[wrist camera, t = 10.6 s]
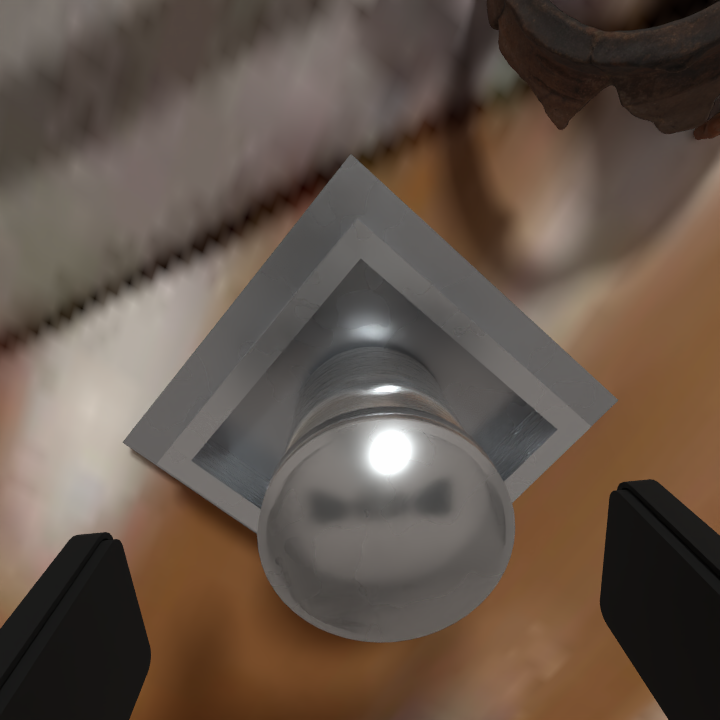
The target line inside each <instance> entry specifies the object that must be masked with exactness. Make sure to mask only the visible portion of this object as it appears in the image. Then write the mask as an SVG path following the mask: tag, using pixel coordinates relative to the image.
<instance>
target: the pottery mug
mask: <svg viewBox="0 0 720 720" xmlns="http://www.w3.org/2000/svg"><path fill="white" fill-rule="evenodd" d="M487 12H488V19H489V23H490V26H491V28H493V29H495V30H499V40H498V44H499V49H500V52H501V53H502V55H503V56H504V58H505V59H506V61H507V62H508V64H509V65H510V66H511V67H512V68H513V69H514V70H515V71H516V72H517V73H518V74H519V76H520V77H521V78H522V79H523V80H524V81H526V82H527V84H528V85H529V87H530V88H531V89H532V91H533V92H534V94H535V95H536V96H537V98H538V100H539V101H540V102H541V103H542V105H543V106H544V109H545V112H546V114H547V115H548V117H549V118H550V119H551V121H552V122H553V123H554V124H555V125H556V126H557V128H558V129H560V130H563V129H564V128H565V127H566V126H567V125H568V122H569V120H570V119H571V118H572V117H573V116H574V115H575V114H576V113H577V112H578V111H580V110H581V109H582V108H583V107H584V106H585V105H586V104H587V103H588V102H589V101H590V100H591V99H592V98H593V97H595V96H596V95H597V94H598V93H599V92H600V91H602V90H603V89H604V88H606V87H608V86H609V85H612V86H614V87H616V89H617V92H618V95H619V98H620V102H621V104H622V106H623V107H625V108H626V109H627V110H628V111H629V112H630V113H631V114H632V115H634V116H636V117H638V118H640V119H644V120H648V121H651V122H653V123H654V124H655V126H656V127H657V128H658V130H659V131H661V132H662V133H665V134H672V133H676V132H681V131H685V130H690V129H693V128H696V127H697V128H696V129H695V130H694V137H695V139H697V140H701V139H707V138H709V139H710V138H713V137H716V136H718V135H720V112H719V113H718V114H716V115H715V116H713V117H712V118H711V119H709V120H708V118H709V114H710V112H711V109H712V107H713V105H714V101H715V99H716V98H717V97H718V96H719V95H720V1H718V2H717V3H715V4H713V5H711V6H709V7H708V8H706V9H704V10H702V11H700V12H697V13H695V14H693V15H690V16H688V17H685V18H683V19H680V20H676V21H673V22H670V23H667V24H664V25H660V26H657V27H652V28H647V29H639V30H632V31H614V32H604V31H602V30H600V29H596V28H594V27H589V26H587V25H584V24H581V23H580V22H578V21H577V20H576V19H574V18H572V17H570V16H568V15H566V14H564V13H563V12H562V11H560V10H559V9H558V8H557V7H556V6H555V5H554V4H552V3H551V2H550V0H487ZM707 120H708V121H707Z"/></svg>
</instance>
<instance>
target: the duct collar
mask: <svg viewBox="0 0 720 720" xmlns="http://www.w3.org/2000/svg"><path fill="white" fill-rule="evenodd" d="M362 347H382V348H388V349H393V350H396V351H399V352H402V353H404V354H406V355H408V356H410V357H412V358H414V359H415V360H417V361H418V362H419V363H421V364H422V365H423V366H424V367H425V368H426V369H427V370H428V371H429V372H430V373H431V374H432V375H433V377H434V378H435V379H436V381H437V383H438V385H439V386H440V388H441V390H442V392H443V393H444V395H445V397H446V399H447V400H448V402H449V404H450V406H451V408H452V409H453V411H454V413H455V415H456V416H457V418H458V420H459V422H460V423H461V425H462V427H463V429H464V431H465V432H466V433H468V434H469V435H470V436H471V437H472V438H473V439H474V440H475V441H476V442H477V443H478V444H479V445H480V446H481V447H482V449H483V450H484V451H485V452H486V454H487V455H488V456H489V458H490V460H491V461H492V463H493V465H494V466H495V468H496V470H497V471H498V473H499V475H500V476H501V478H502V480H503V482H504V483H505V485H506V488H507V490H508V493H509V495H510V498H511V501H512V503H513V502H514V501H515V500H516V499H517V498H518V497H519V496H520V495H521V494H522V493H523V492H524V491H525V490H526V489H527V488H528V487H529V486H530V485H531V484H532V483H533V482H534V481H535V480H536V479H537V478H538V477H540V476H541V475H542V474H543V473H544V472H545V471H546V470H547V469H548V468H549V467H550V466H551V465H552V464H553V463H554V462H555V461H556V460H557V459H558V458H559V457H560V456H561V455H562V454H563V453H564V452H566V451H567V450H568V449H569V448H570V447H571V446H572V445H573V444H574V443H575V442H576V441H577V440H578V439H579V438H580V437H581V436H582V435H583V434H584V433H585V432H586V431H587V430H588V429H589V428H590V427H591V426H592V425H593V424H594V423H595V422H596V421H597V420H598V419H599V418H600V417H601V416H602V415H603V414H605V413H606V412H607V411H608V410H609V409H610V408H611V407H612V406H613V405H614V404H615V403H616V402H617V401H618V399H616V398H615V397H614V396H613V395H612V394H611V393H610V392H609V391H608V390H607V389H606V388H604V387H603V386H602V385H601V384H600V383H599V382H598V381H597V380H596V379H595V378H594V377H593V376H591V375H590V374H589V373H588V372H587V371H586V370H585V369H584V368H583V367H582V366H581V365H579V364H578V363H577V362H576V361H575V360H574V359H573V358H572V357H571V356H570V355H569V354H568V353H566V352H565V351H564V350H563V349H562V348H561V347H560V346H559V345H558V344H557V343H556V342H554V341H553V340H552V339H551V338H550V337H549V336H548V335H547V334H546V333H545V332H544V331H543V330H541V329H540V328H539V327H538V326H537V325H536V324H535V323H534V322H533V321H532V320H531V319H529V318H528V317H527V316H526V315H525V314H524V313H523V312H522V311H521V310H520V309H519V308H518V307H516V306H515V305H514V304H513V303H512V302H511V301H510V300H509V299H508V298H507V297H506V296H505V295H503V294H502V293H501V292H500V291H499V290H498V289H497V288H496V287H495V286H494V285H493V284H491V283H490V282H489V281H488V280H487V279H486V278H485V277H484V276H483V275H482V274H481V273H480V272H478V271H477V270H476V269H475V268H474V267H473V266H472V265H471V264H470V263H469V262H468V261H466V260H465V259H464V258H463V257H462V256H461V255H460V254H459V253H458V252H457V251H456V250H455V249H453V248H452V247H451V246H450V245H449V244H448V243H447V242H446V241H445V240H444V239H443V238H441V237H440V236H439V235H438V234H437V233H436V232H435V231H434V230H433V229H432V228H431V227H430V226H428V225H427V224H426V223H425V222H424V221H423V220H422V219H421V218H420V217H419V216H418V215H416V214H415V213H414V212H413V211H412V210H411V209H410V208H409V207H408V206H407V205H406V204H405V203H403V202H402V201H401V200H400V199H399V198H398V197H397V196H396V195H395V194H394V193H393V192H392V191H390V190H389V189H388V188H387V187H386V186H385V185H384V184H383V183H382V182H381V181H380V180H378V179H377V178H376V177H375V176H374V175H373V174H372V173H371V172H370V171H369V170H368V169H367V168H365V167H364V166H363V165H362V164H361V163H360V162H359V161H358V160H357V159H356V158H355V157H353V156H352V155H350V156H349V157H348V158H347V160H346V161H345V162H344V164H343V165H342V166H341V167H340V169H339V170H338V171H337V172H336V174H335V175H334V176H333V177H332V179H331V180H330V181H329V182H328V184H327V185H326V186H325V188H324V189H323V190H322V191H321V193H320V194H319V195H318V196H317V198H316V199H315V200H314V201H313V203H312V204H311V205H310V206H309V208H308V209H307V210H306V211H305V213H304V214H303V215H302V217H301V218H300V219H299V220H298V222H297V223H296V224H295V225H294V227H293V228H292V229H291V230H290V232H289V233H288V234H287V235H286V237H285V238H284V239H283V241H282V242H281V243H280V244H279V246H278V247H277V248H276V249H275V251H274V252H273V253H272V254H271V256H270V257H269V258H268V259H267V261H266V262H265V263H264V265H263V266H262V267H261V268H260V270H259V271H258V272H257V273H256V275H255V276H254V277H253V278H252V280H251V281H250V282H249V283H248V285H247V286H246V287H245V288H244V290H243V291H242V292H241V294H240V295H239V296H238V297H237V299H236V300H235V301H234V302H233V304H232V305H231V306H230V307H229V309H228V310H227V311H226V312H225V314H224V315H223V316H222V318H221V319H220V320H219V321H218V323H217V324H216V325H215V326H214V328H213V329H212V330H211V331H210V333H209V334H208V335H207V336H206V338H205V339H204V340H203V342H202V343H201V344H200V345H199V347H198V348H197V349H196V350H195V352H194V353H193V354H192V355H191V357H190V358H189V359H188V360H187V362H186V363H185V364H184V365H183V367H182V368H181V369H180V371H179V372H178V373H177V374H176V376H175V377H174V378H173V379H172V381H171V382H170V383H169V384H168V386H167V387H166V388H165V389H164V391H163V392H162V393H161V395H160V396H159V397H158V398H157V400H156V401H155V402H154V403H153V405H152V406H151V407H150V408H149V410H148V411H147V412H146V413H145V415H144V416H143V417H142V419H141V420H140V421H139V422H138V424H137V425H136V426H135V427H134V429H133V430H132V431H131V432H130V434H129V435H128V436H127V437H126V439H125V440H124V441H123V443H124V444H126V445H127V446H129V447H130V448H131V449H133V450H134V451H136V452H137V453H139V454H140V455H142V456H143V457H145V458H146V459H148V460H149V461H151V462H152V463H154V464H155V465H156V466H158V467H159V468H161V469H162V470H164V471H165V472H167V473H168V474H170V475H171V476H173V477H174V478H176V479H177V480H178V481H180V482H181V483H183V484H184V485H186V486H187V487H189V488H190V489H192V490H193V491H195V492H196V493H198V494H199V495H200V496H202V497H203V498H205V499H206V500H208V501H209V502H211V503H212V504H214V505H215V506H217V507H218V508H220V509H221V510H222V511H224V512H225V513H227V514H228V515H230V516H231V517H233V518H234V519H236V520H237V521H239V522H240V523H242V524H243V525H244V526H246V527H247V528H249V529H250V530H252V531H253V532H255V533H256V534H257V531H258V520H259V515H260V511H261V507H262V503H263V499H264V496H265V492H266V489H267V486H268V483H269V481H270V478H271V476H272V473H273V472H274V470H275V468H276V466H277V465H278V463H279V461H280V460H281V459H282V457H283V456H284V452H285V448H286V444H287V440H288V436H289V432H290V428H291V424H292V420H293V416H294V412H295V408H296V404H297V400H298V397H299V395H300V392H301V390H302V388H303V386H304V384H305V382H306V381H307V380H308V378H309V377H310V376H311V374H312V373H313V372H314V371H315V370H316V369H317V368H318V367H319V366H320V365H322V364H323V363H324V362H326V361H327V360H329V359H330V358H332V357H334V356H335V355H338V354H340V353H342V352H345V351H348V350H352V349H355V348H362Z"/></svg>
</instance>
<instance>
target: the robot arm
mask: <svg viewBox="0 0 720 720" xmlns="http://www.w3.org/2000/svg"><path fill="white" fill-rule="evenodd" d="M600 607H601V612H602V615H603V618H604V620H605V622H606V624H607V625H608V627H609V628H610V630H611V632H612V633H613V635H614V636H615V638H616V639H617V641H618V642H619V644H620V645H621V647H622V648H623V650H624V652H625V653H626V655H627V656H628V658H629V659H630V661H631V662H632V664H633V665H634V667H635V669H636V670H637V672H638V673H639V675H640V676H641V678H642V679H643V681H644V682H645V684H646V686H647V687H648V689H649V690H650V692H651V693H652V695H653V696H654V698H655V699H656V701H657V703H658V704H659V706H660V707H661V709H662V710H663V712H664V713H665V715H666V716H667V718H668V720H720V535H718V534H717V533H716V532H715V531H714V530H713V529H712V528H710V527H709V526H708V525H707V524H706V523H705V522H703V521H702V520H701V519H700V518H699V517H698V516H696V515H695V514H694V513H693V512H692V511H691V510H690V509H688V508H687V507H686V506H685V505H684V504H683V503H681V502H680V501H679V500H678V499H677V498H676V497H674V496H673V495H672V494H671V493H670V492H669V491H668V490H666V489H665V488H664V487H663V486H662V485H661V484H659V483H658V482H657V481H655V480H651V479H649V480H639V481H629V482H622V483H620V484H619V486H618V488H617V491H613V492H612V493H611V494H610V498H609V509H608V519H607V530H606V541H605V552H604V562H603V573H602V584H601V595H600ZM150 660H151V650H150V645H149V641H148V637H147V634H146V630H145V626H144V623H143V619H142V615H141V612H140V608H139V604H138V600H137V597H136V593H135V589H134V586H133V582H132V578H131V575H130V571H129V567H128V564H127V560H126V556H125V553H124V549H123V545H122V543H121V541H120V540H118V539H114V540H113V537H112V536H111V535H110V533H107V532H103V533H93V534H83V535H76V536H73V537H72V538H71V539H70V540H69V541H68V543H67V544H66V545H65V546H64V548H63V549H62V550H61V552H60V553H59V554H58V555H57V557H56V558H55V559H54V561H53V562H52V563H51V564H50V566H49V567H48V568H47V570H46V571H45V572H44V573H43V575H42V576H41V577H40V579H39V580H38V581H37V582H36V584H35V585H34V586H33V588H32V589H31V590H30V591H29V593H28V594H27V595H26V597H25V598H24V599H23V600H22V602H21V603H20V604H19V606H18V607H17V608H16V609H15V611H14V612H13V613H12V615H11V616H10V617H9V618H8V620H7V621H6V622H5V624H4V625H3V626H2V627H1V629H0V720H129V719H130V716H131V713H132V711H133V708H134V706H135V703H136V701H137V698H138V696H139V693H140V691H141V688H142V685H143V683H144V680H145V678H146V675H147V673H148V670H149V666H150Z"/></svg>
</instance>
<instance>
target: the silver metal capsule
mask: <svg viewBox="0 0 720 720" xmlns="http://www.w3.org/2000/svg"><path fill="white" fill-rule="evenodd" d="M514 535H515V519H514V510H513V506H512V501H511V498H510V495H509V493H508V490H507V488H506V485H505V483H504V482H503V480H502V478H501V476H500V475H499V473H498V471H497V470H496V468H495V466H494V465H493V463H492V461H491V460H490V458H489V456H488V455H487V454H486V452H485V451H484V450H483V449H482V447H481V446H480V445H479V444H478V443H477V442H476V441H475V440H474V439H473V438H472V437H471V436H470V435H469V434H468V433H466V432H465V431H464V429H463V427H462V425H461V423H460V422H459V420H458V418H457V416H456V415H455V413H454V411H453V409H452V408H451V406H450V404H449V402H448V400H447V399H446V397H445V395H444V393H443V392H442V390H441V388H440V386H439V385H438V383H437V381H436V379H435V378H434V377H433V375H432V374H431V373H430V372H429V371H428V370H427V369H426V368H425V367H424V366H423V365H422V364H421V363H419V362H418V361H417V360H415V359H414V358H412V357H410V356H408V355H406V354H404V353H402V352H399V351H396V350H393V349H388V348H382V347H362V348H355V349H352V350H348V351H345V352H342V353H340V354H338V355H335V356H334V357H332V358H330V359H329V360H327V361H326V362H324V363H323V364H322V365H320V366H319V367H318V368H317V369H316V370H315V371H314V372H313V373H312V374H311V376H310V377H309V378H308V380H307V381H306V382H305V384H304V386H303V388H302V390H301V392H300V395H299V397H298V400H297V404H296V408H295V412H294V416H293V420H292V424H291V428H290V432H289V436H288V440H287V444H286V448H285V452H284V456H283V457H282V459H281V460H280V461H279V463H278V465H277V466H276V468H275V470H274V472H273V473H272V476H271V478H270V481H269V483H268V486H267V489H266V492H265V496H264V499H263V503H262V507H261V511H260V515H259V520H258V531H257V540H258V551H259V555H260V559H261V564H262V566H263V569H264V571H265V574H266V576H267V579H268V580H269V582H270V584H271V585H272V587H273V589H274V590H275V592H276V593H277V594H278V596H279V597H280V598H281V599H282V601H283V602H284V603H285V604H286V605H287V606H288V607H289V608H290V609H291V610H293V611H294V612H295V613H296V614H297V615H299V616H300V617H301V618H303V619H304V620H305V621H307V622H309V623H311V624H312V625H314V626H316V627H318V628H319V629H322V630H324V631H327V632H329V633H331V634H334V635H337V636H341V637H344V638H348V639H353V640H359V641H366V642H397V641H404V640H411V639H415V638H419V637H423V636H426V635H429V634H432V633H434V632H437V631H440V630H442V629H444V628H446V627H448V626H450V625H452V624H454V623H456V622H457V621H459V620H460V619H462V618H463V617H465V616H466V615H468V614H469V613H470V612H471V611H473V610H474V609H475V608H476V607H478V606H479V605H480V604H481V603H482V602H483V601H484V600H485V598H486V597H487V596H488V595H489V594H490V593H491V592H492V590H493V589H494V587H495V586H496V585H497V583H498V582H499V580H500V578H501V577H502V575H503V573H504V571H505V569H506V567H507V564H508V562H509V559H510V556H511V552H512V548H513V544H514Z"/></svg>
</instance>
